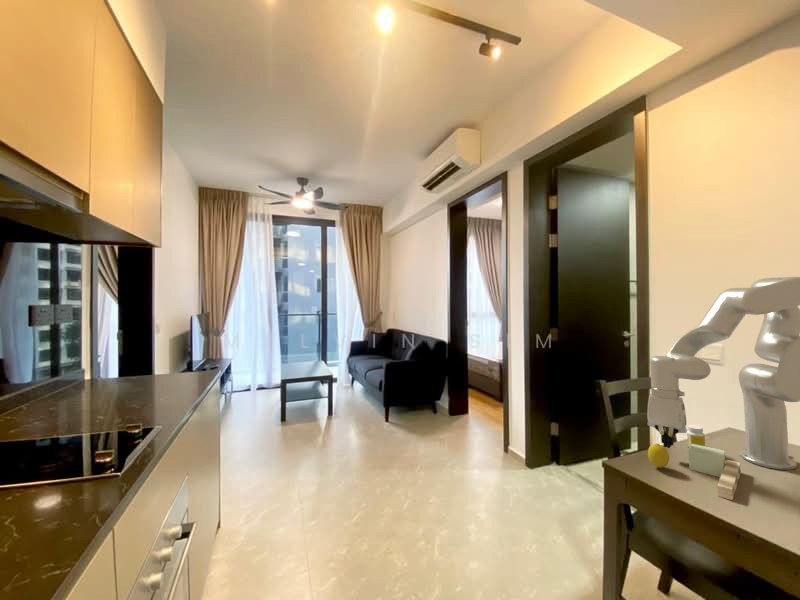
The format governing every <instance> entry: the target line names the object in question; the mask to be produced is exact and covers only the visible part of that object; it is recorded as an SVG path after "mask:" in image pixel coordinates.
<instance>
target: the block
mask: <svg viewBox="0 0 800 600" xmlns="http://www.w3.org/2000/svg"><path fill="white" fill-rule="evenodd" d="M725 464H726V451H725V450H722V449H719V448H714V447H710V446H706V445H705V446H700V445H695V444H691V447H690V449H688V465H689V467H688V468H689V470H692V471H695V472H699V473H703V474H707V475H708V474H709V475H712V476H716V477H719V478H720V477H721V474H722V472H723V469H724V466H725Z"/></svg>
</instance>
